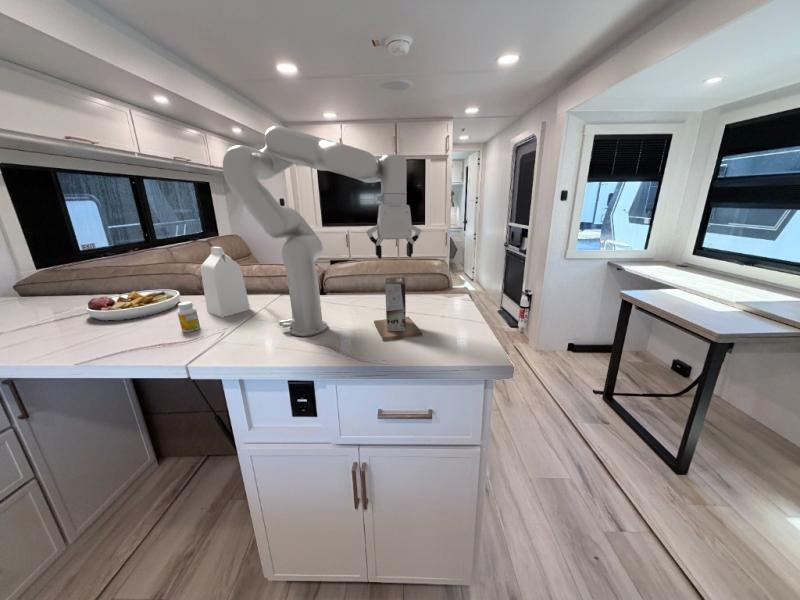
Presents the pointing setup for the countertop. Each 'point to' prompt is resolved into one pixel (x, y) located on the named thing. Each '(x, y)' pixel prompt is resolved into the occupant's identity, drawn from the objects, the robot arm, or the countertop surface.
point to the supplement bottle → (188, 317)
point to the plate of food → (132, 304)
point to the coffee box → (395, 304)
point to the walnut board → (410, 331)
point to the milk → (223, 284)
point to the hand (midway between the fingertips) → (394, 257)
